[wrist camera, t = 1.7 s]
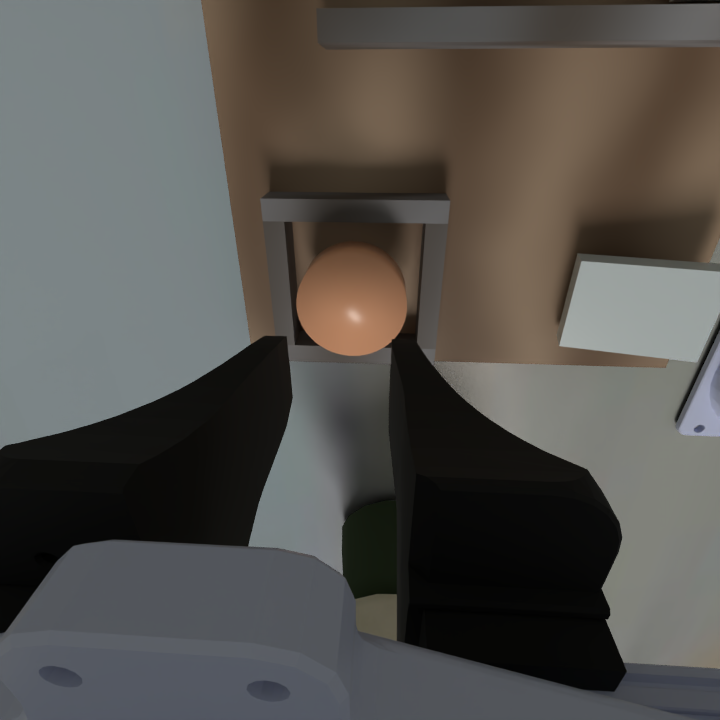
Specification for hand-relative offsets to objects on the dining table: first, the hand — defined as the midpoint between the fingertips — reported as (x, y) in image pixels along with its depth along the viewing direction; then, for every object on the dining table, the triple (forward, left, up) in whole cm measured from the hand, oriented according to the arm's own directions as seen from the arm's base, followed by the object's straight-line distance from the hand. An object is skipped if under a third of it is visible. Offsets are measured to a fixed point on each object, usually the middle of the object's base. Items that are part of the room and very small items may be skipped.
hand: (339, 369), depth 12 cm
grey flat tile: (-11, 0, -6) cm, 13 cm away
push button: (0, 0, -6) cm, 6 cm away
